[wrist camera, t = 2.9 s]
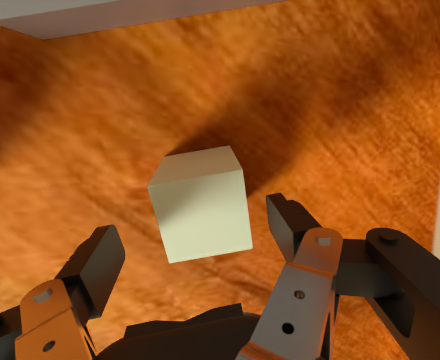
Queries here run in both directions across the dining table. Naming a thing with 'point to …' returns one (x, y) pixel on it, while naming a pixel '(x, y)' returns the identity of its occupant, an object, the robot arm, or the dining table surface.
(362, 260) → the robot arm
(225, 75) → the dining table surface
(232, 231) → the sage block
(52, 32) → the bin
